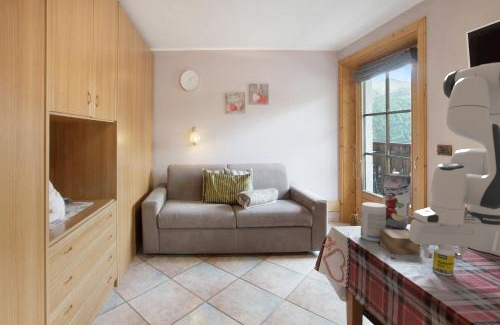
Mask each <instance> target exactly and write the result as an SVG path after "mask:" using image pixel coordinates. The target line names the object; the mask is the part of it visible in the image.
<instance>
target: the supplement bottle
mask: <svg viewBox="0 0 500 325" xmlns="http://www.w3.org/2000/svg"><path fill="white" fill-rule="evenodd" d="M453 248H454V246H452V245H451V244H446V245H444V246H442V245H436V246H435V247H434V248H433V255H432V270H433V272H434V273H436V274H438V275H442V276H448V277H449V276H452V275H454V266H455V250H453Z"/></svg>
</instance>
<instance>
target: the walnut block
mask: <svg viewBox="0 0 500 325" xmlns="http://www.w3.org/2000/svg"><path fill="white" fill-rule="evenodd" d="M380 245H381V246H382V247H383V248H385V250H386V251H388V252H389V254H392V255H406V256H407V255H408V256H409V255H412V256H420V255H421V245H420V244H415V243H413V242H412V241H411V240H410V239H409V230H408V229H403V230H396V229H390V228H389V229H386V228H385V229H381V242H380Z"/></svg>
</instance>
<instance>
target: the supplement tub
mask: <svg viewBox="0 0 500 325" xmlns="http://www.w3.org/2000/svg"><path fill="white" fill-rule="evenodd" d="M360 208H361V210H360V214H361V215H360V237H361V239H363V240H365V241H369V242H373V243H378V242H381V229H386V227H385V226H386V206H385V205H384V204H383V203H378V202H372V201H371V202H370V201H368V202H367V201H366V202H362V203H361V207H360Z"/></svg>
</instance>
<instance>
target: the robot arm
mask: <svg viewBox="0 0 500 325" xmlns="http://www.w3.org/2000/svg"><path fill="white" fill-rule="evenodd" d="M442 85H443V86H442V90H443V94H444V95H445V97H446V98H448V99H449V100H448V104H447V110H446V126H447V128H448V129H449V130H450V131H451V132H452V134H455V135H457V136H459V137H461V138H465V139H467V140H469V141H470V140H471V141H473V142H477V143H479V144H481V145H483V147H484V148H475V147H474V148H473V147H471V148H463V149H459V150H456V151H454V152H453V153H452V155H451V157H450V159H449V160H450V161H449V162H447V163H444V162H443V163H439V164H437V165H436V166H435V168H434V171H433V176H432V181H431V189H430V190H431V195H432V196H431V200H430V203H429V204H430V205H429V206H428V207H425V208H421V209H418V210H414V211H413V212H412V217H413V218H414V219H412V221H411V222H410V225H409V230H408V231H409V239H410V240H411V241H412V242H413V243H415V244H420V247H421V248H422V250H423V254H424V255H423V256H424V258H426V259H433V253H432V252H431V251H429V249H430V246H437V245H442V246H444V245H446V244H451V245H452V246H453V247H458V248H459V249H458V250H457V251H456V252H455V251H454V252H455V258H454V260H458V261H462V260H463V259H464V255H465V254H466V253H467V252H468V249H469V248H470V249H472V250H475V251H479V252H484V253H488V254H492V255H495V256H498V257H500V62H491V63H484V64H480V65H477V66H476V65H475V66H473V67H467V68H465V69H461V70H455V71H452V72H450V73H448V74H447V75H446V77H445V78H444V80H443V84H442ZM465 204H466V205H467V209H466V205H465Z"/></svg>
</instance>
